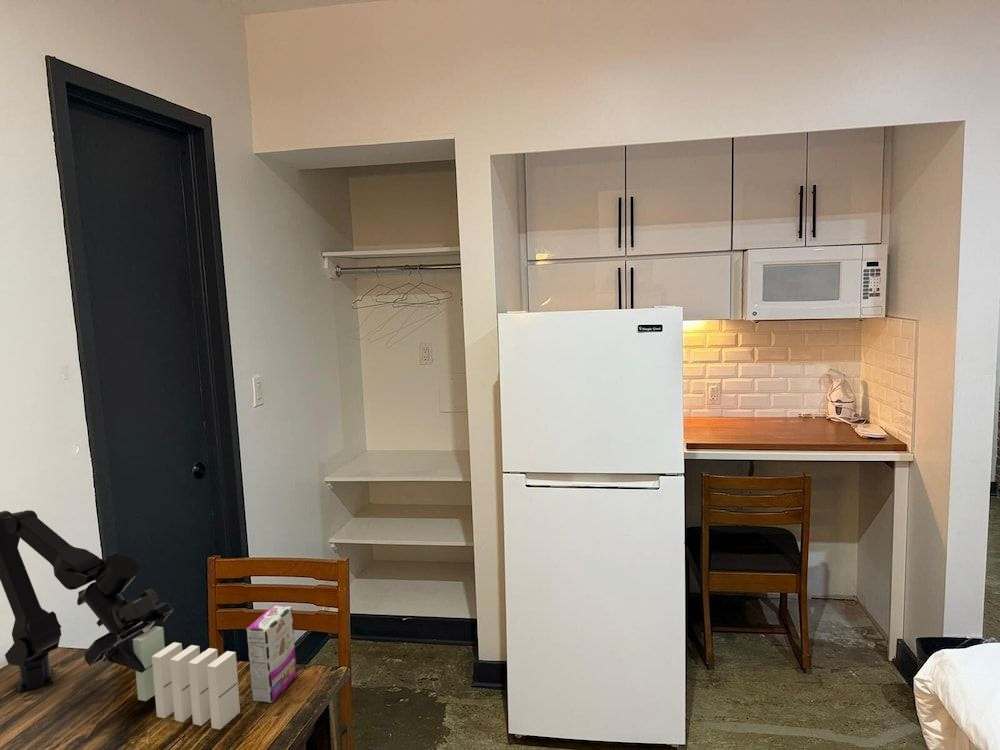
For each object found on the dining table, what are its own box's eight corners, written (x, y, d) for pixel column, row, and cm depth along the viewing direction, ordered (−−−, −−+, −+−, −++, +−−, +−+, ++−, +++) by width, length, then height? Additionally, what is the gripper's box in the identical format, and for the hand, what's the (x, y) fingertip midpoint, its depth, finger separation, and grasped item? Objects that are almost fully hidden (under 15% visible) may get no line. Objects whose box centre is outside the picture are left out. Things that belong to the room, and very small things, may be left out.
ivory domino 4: (211, 727, 139) (206, 665, 138) (231, 710, 145) (227, 650, 143) (220, 729, 139) (215, 667, 137) (240, 712, 144) (235, 652, 143)
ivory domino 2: (174, 720, 142) (169, 659, 141) (196, 703, 148) (191, 644, 146) (183, 722, 142) (178, 660, 140) (204, 705, 147) (199, 646, 146)
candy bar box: (277, 673, 159) (272, 604, 157) (297, 675, 158) (293, 605, 156) (250, 702, 148) (245, 627, 146) (272, 704, 147) (267, 629, 145)
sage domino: (137, 699, 145) (132, 639, 143) (160, 683, 150) (155, 625, 149) (145, 701, 144) (140, 640, 142) (168, 685, 150) (163, 627, 148)
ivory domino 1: (156, 716, 144) (151, 656, 142) (178, 700, 149) (173, 642, 148) (164, 718, 143) (159, 657, 141) (186, 701, 149) (181, 643, 147)
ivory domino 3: (192, 724, 141) (188, 662, 139) (213, 707, 146) (209, 647, 145) (201, 725, 140) (196, 664, 139) (221, 708, 146) (217, 649, 144)
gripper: (90, 602, 137) (139, 664, 135) (163, 566, 154) (208, 620, 152) (63, 635, 140) (111, 696, 138) (137, 596, 158) (181, 649, 156)
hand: (155, 663), depth 146 cm, fingers closed on sage domino, 6 cm apart
